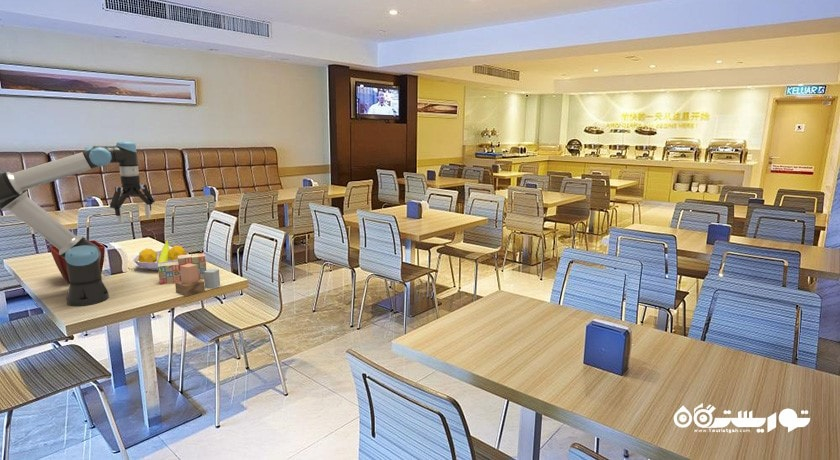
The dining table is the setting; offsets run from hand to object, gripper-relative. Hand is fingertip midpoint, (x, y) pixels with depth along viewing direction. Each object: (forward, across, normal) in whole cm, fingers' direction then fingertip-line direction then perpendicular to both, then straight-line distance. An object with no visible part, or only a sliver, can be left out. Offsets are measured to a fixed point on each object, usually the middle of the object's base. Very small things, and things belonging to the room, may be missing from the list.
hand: (134, 220), depth 222 cm
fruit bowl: (+32, +25, +18) cm, 44 cm away
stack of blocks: (+32, +13, -12) cm, 37 cm away
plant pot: (+32, -9, +33) cm, 47 cm away
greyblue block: (+32, +13, -33) cm, 48 cm away
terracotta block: (+27, +3, -30) cm, 40 cm away
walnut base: (+32, +3, -30) cm, 44 cm away
